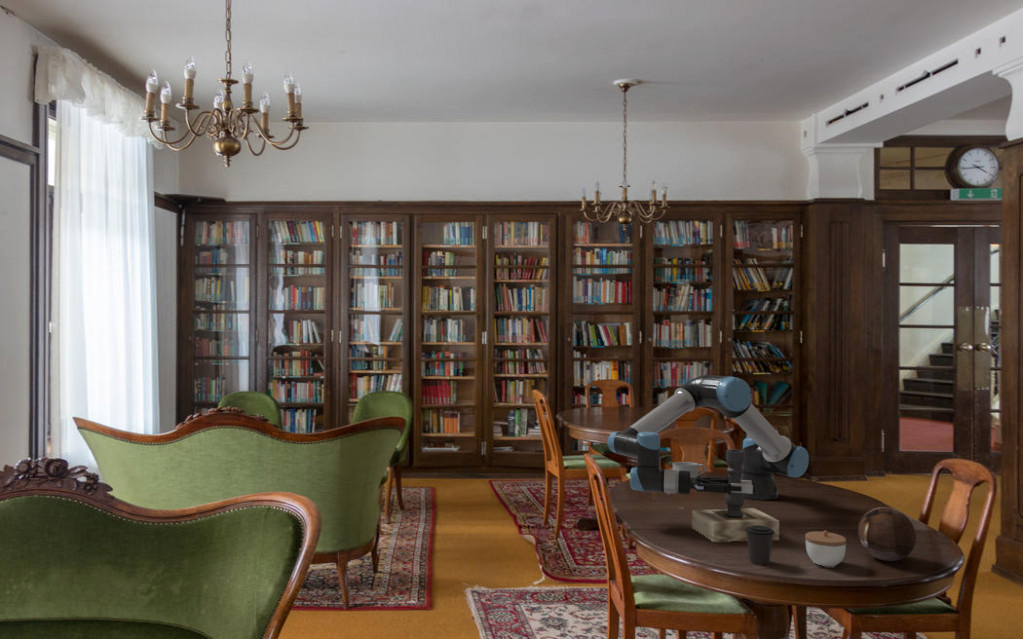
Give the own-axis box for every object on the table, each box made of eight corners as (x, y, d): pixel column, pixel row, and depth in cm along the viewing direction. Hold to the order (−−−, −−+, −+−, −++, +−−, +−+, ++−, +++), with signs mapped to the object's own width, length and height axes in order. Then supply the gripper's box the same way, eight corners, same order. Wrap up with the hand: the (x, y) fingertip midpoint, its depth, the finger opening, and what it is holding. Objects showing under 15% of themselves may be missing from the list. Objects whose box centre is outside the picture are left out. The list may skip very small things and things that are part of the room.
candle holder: (741, 532, 233) (742, 453, 233) (721, 529, 236) (722, 451, 236) (746, 527, 238) (747, 450, 238) (727, 524, 241) (728, 448, 241)
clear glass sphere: (906, 554, 219) (907, 503, 219) (922, 570, 204) (923, 516, 204) (852, 549, 222) (852, 500, 222) (864, 565, 207) (865, 512, 207)
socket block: (753, 525, 247) (753, 507, 247) (778, 539, 231) (779, 520, 231) (691, 528, 243) (692, 509, 243) (713, 542, 227) (713, 522, 227)
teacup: (672, 483, 310) (673, 464, 310) (671, 478, 320) (671, 460, 320) (706, 485, 307) (707, 466, 307) (704, 480, 318) (704, 461, 318)
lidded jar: (803, 556, 215) (803, 524, 215) (843, 560, 212) (843, 527, 212) (806, 567, 205) (807, 534, 205) (848, 572, 202) (849, 538, 202)
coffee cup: (739, 561, 209) (739, 526, 209) (752, 555, 215) (752, 521, 215) (767, 568, 204) (767, 532, 204) (779, 562, 210) (779, 527, 210)
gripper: (678, 487, 251) (750, 492, 245) (676, 499, 233) (753, 505, 227) (679, 465, 251) (750, 469, 245) (676, 476, 233) (753, 481, 227)
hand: (751, 487), depth 236 cm, fingers open, 5 cm apart
